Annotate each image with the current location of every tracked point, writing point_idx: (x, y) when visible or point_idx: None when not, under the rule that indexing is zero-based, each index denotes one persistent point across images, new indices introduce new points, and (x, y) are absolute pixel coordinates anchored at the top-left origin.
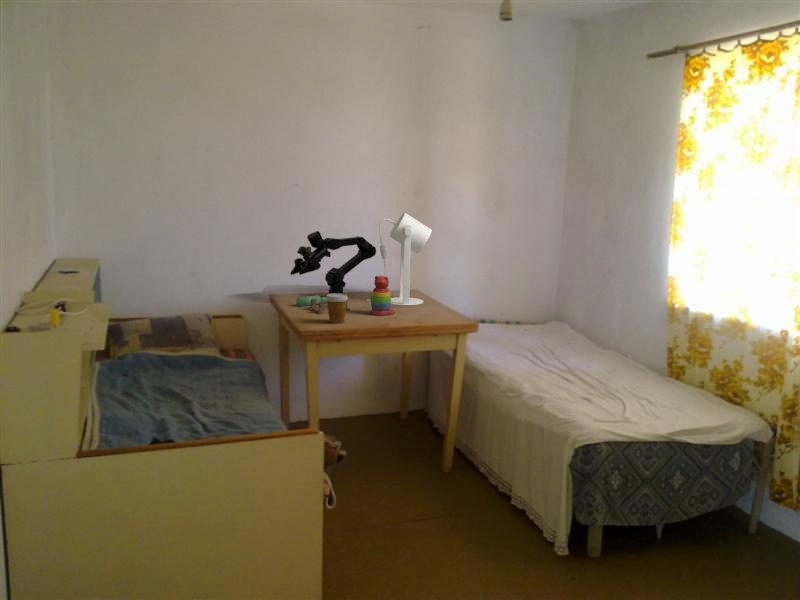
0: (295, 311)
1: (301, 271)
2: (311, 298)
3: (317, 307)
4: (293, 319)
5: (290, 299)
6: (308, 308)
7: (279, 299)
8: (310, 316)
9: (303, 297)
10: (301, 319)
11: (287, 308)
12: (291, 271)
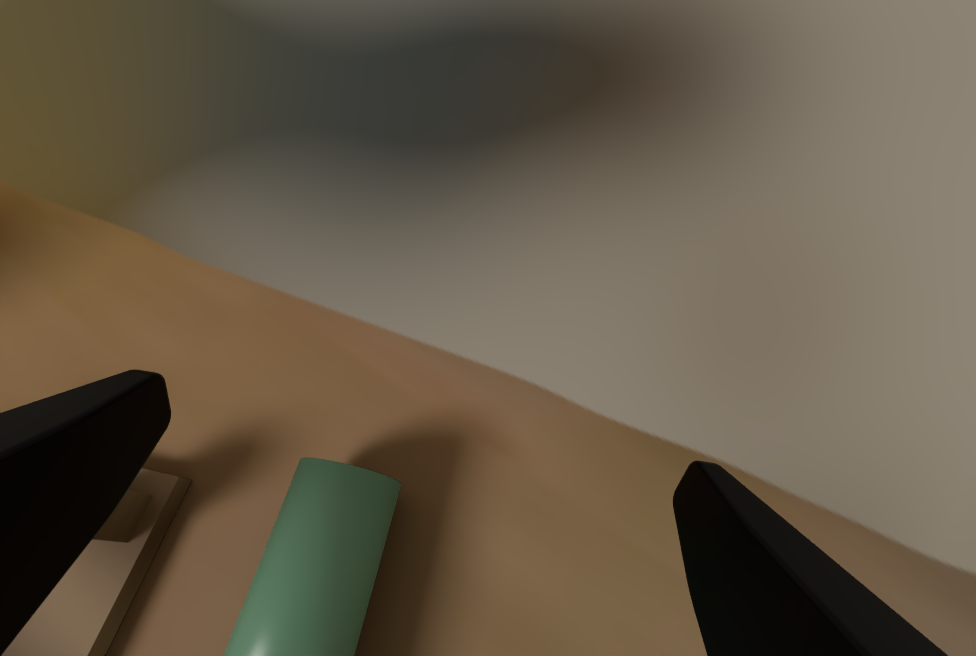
0: (226, 342)
1: (33, 421)
2: (234, 636)
3: None
4: (77, 213)
5: None
6: (180, 477)
7: None
8: (10, 334)
9: (293, 523)
10: (25, 245)
11: (361, 354)
12: (757, 509)
